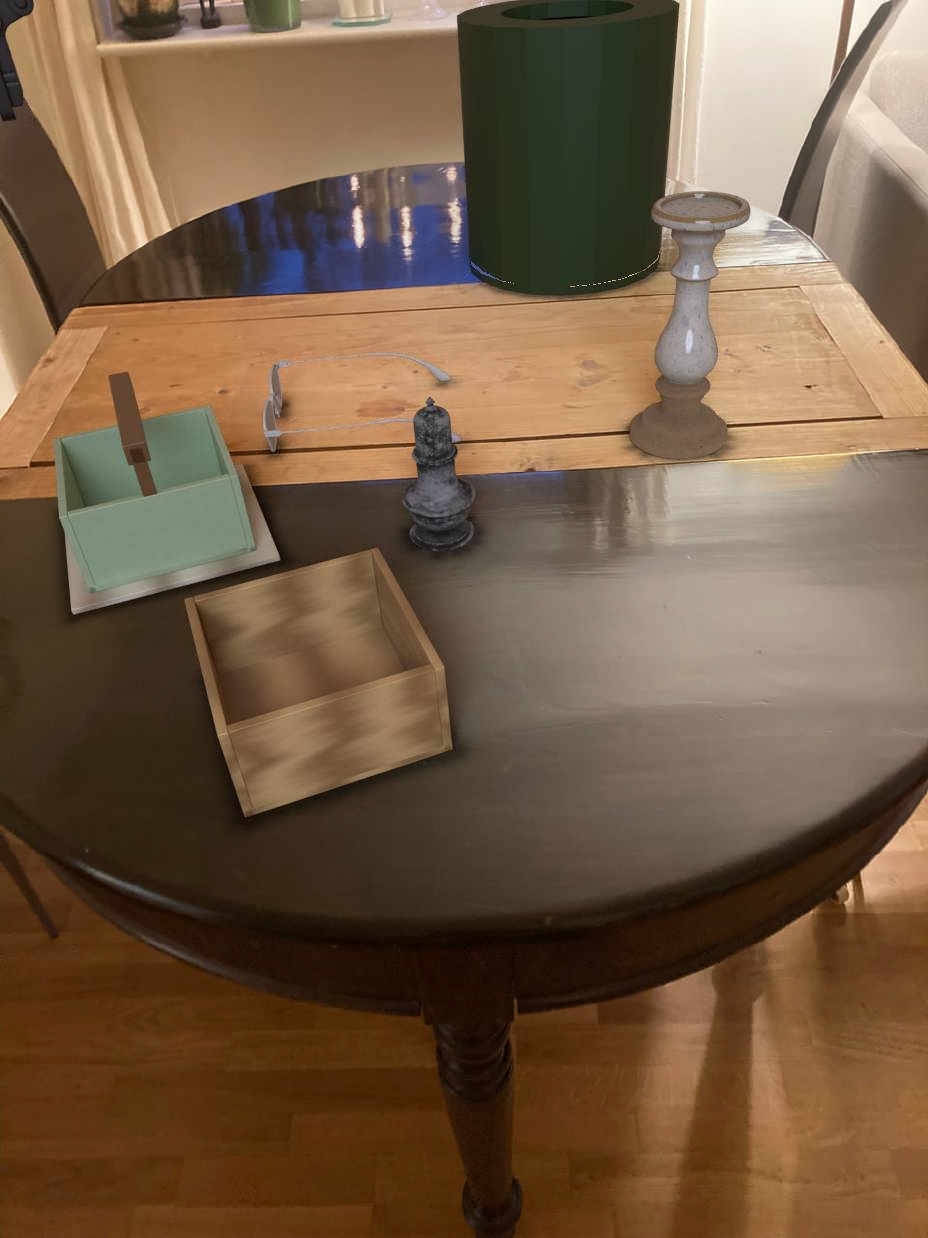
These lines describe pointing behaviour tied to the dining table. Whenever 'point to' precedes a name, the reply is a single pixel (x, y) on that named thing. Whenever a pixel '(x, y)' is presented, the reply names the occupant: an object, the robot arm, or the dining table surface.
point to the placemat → (263, 555)
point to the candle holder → (688, 329)
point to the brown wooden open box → (318, 679)
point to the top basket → (149, 494)
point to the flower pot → (566, 139)
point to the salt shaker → (437, 485)
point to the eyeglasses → (272, 433)
